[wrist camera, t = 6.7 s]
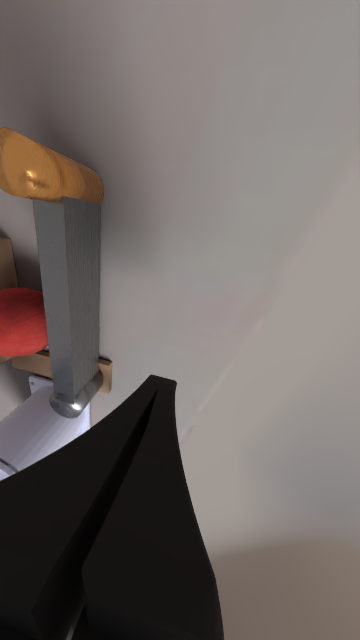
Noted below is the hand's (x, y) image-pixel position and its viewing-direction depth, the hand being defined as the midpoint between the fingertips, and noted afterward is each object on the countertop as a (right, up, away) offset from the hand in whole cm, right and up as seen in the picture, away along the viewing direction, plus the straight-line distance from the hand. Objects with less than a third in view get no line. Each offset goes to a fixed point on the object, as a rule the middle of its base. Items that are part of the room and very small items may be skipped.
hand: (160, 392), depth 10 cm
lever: (-7, +5, +8) cm, 12 cm away
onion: (-12, +5, +11) cm, 17 cm away
